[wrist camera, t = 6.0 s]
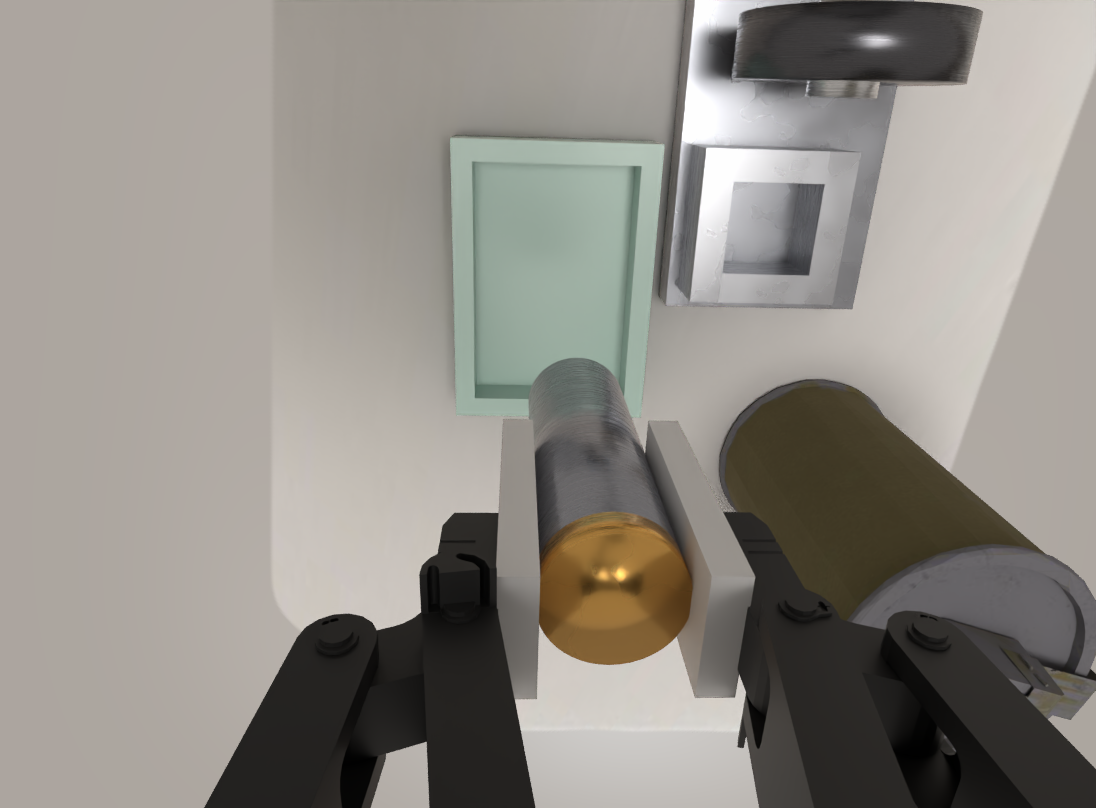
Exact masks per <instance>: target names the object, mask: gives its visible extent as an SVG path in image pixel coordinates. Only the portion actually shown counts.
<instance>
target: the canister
mask: <svg viewBox="0 0 1096 808" xmlns="http://www.w3.org/2000/svg"><path fill="white" fill-rule="evenodd" d="M720 482H721V485H722V488H723V491H724V494H725V496H726V498H727V500H728V501H729V503H730V505H731V506H732V507H733V508H734V509H735V510H736V511H737V512H751V513H752V514H754V515H755V516H756V517H757V518H759V519H760V520H761V521H763V522H764V523H765V524H767V525H768V527H769V529H770V530H771V532H772V534H773V535H774V537H775V539H776V542H778V544H779V545H780V547H781V549H782V551H783V554H785V556H786V557H787V559H788V561H789V562H790V564H791V566H792V568H793V569H794V571H795V573H796V574H797V576H798V578H799V579H800V581H801V583H802V584H803V586H804V588H805V589H807V590H809V591H812V592H814V593H816V594H819V595H821V596H822V597H823V598H825V599H826V600H827V601H829V602H830V603H831V604H832V605H833V606H834V608H835V609H836V611H837V612H838V614H839V617H840V619H842V620H845V621H849V622H852V623H856V624H861V625H865V626H870V627H875V628H879V629H884V630H885V628H886V624H887V620H888V619H889V618H890V617H891V616H892V615H893V614H894V613H897V612H901V611H906V610H907V611H921V612H925V613H928V614H932V615H935V616H938V617H940V618H942V619H944V620H946V621H948V622H950V623H952V624H953V625H954V626H956V627H957V628H958V629H959V630H961V631H962V632H963V633H964V634H965V635H966V636H967V637H968V638H969V639H970V640H971V641H972V642H973V643H974V644H975V645H976V646H977V647H978V648H979V649H980V650H981V651H982V652H983V653H984V654H985V655H986V656H987V657H988V659H989V660H990V661H991V662H992V663H993V664H994V665H995V666H996V667H997V668H998V669H999V670H1000V671H1001V672H1002V673H1003V674H1004V675H1005V676H1006V677H1007V678H1008V679H1009V680H1010V681H1011V682H1012V683H1013V684H1014V685H1015V686H1016V687H1017V688H1018V689H1019V690H1020V692H1021V693H1022V694H1023V695H1024V696H1025V697H1026V698H1027V699H1028V700H1029V701H1030V702H1031V703H1032V704H1033V705H1034V706H1035V707H1036V708H1037V709H1038V710H1039V711H1040V712H1041V713H1042V714H1043V715H1044V716H1045V717H1046V718H1047V719H1048V718H1050V717H1051V716H1052V715H1054V716H1058V717H1061V718H1065V719H1069V720H1071V719H1072V717H1073V716H1074V715H1075V714H1076V713H1077V712H1078V711H1079V709H1080V708H1081V707H1082V706H1083V705H1084V704H1085V702H1086V701H1087V700H1088V699H1089V698H1090V696H1091V695H1092V694H1093V693H1094V692H1095V691H1096V674H1095V673H1094V672H1093V671H1092V670H1091V669H1090V668H1091V665H1092V663H1093V661H1094V658H1095V656H1096V600H1095V599H1094V597H1093V595H1092V594H1091V592H1090V590H1089V588H1088V587H1087V585H1086V583H1085V581H1084V580H1082V579H1081V578H1080V577H1079V576H1078V575H1077V574H1076V573H1075V572H1074V571H1073V570H1072V569H1071V568H1070V567H1068V566H1067V565H1065V564H1064V563H1062V562H1061V561H1059V560H1057V559H1056V558H1054V557H1053V556H1050V555H1047V554H1045V553H1044V552H1043V551H1041V550H1040V549H1039V548H1038V547H1037V546H1036V545H1034V544H1033V543H1032V542H1031V541H1030V540H1028V539H1027V538H1026V537H1025V536H1024V535H1023V534H1021V533H1020V532H1019V531H1018V530H1017V529H1016V528H1014V527H1013V526H1012V525H1011V524H1010V523H1008V522H1007V521H1006V520H1005V519H1004V518H1003V517H1001V516H1000V515H999V514H998V513H997V512H995V511H994V510H993V509H992V508H991V507H990V506H988V505H987V504H986V503H985V502H984V501H983V500H981V499H980V498H979V497H978V496H977V495H975V494H974V493H973V492H972V491H971V490H970V489H968V488H967V487H966V486H965V485H964V484H963V483H961V482H960V481H959V480H957V478H956V477H954V476H953V475H952V474H951V473H950V472H948V471H947V470H946V469H945V468H944V467H943V466H941V465H940V464H939V463H938V462H937V461H936V460H934V459H933V458H932V457H931V456H930V455H928V454H927V453H926V452H925V451H924V450H923V449H921V448H920V447H919V446H918V445H917V444H916V443H914V442H913V441H912V440H911V439H910V438H909V437H907V436H906V435H905V434H904V433H903V432H901V431H900V430H899V429H898V428H897V427H896V426H894V425H893V424H892V423H891V422H890V421H889V420H887V419H886V418H885V417H884V415H883V414H882V412H881V411H880V409H879V408H878V406H877V405H876V404H875V403H874V402H873V401H872V400H871V399H870V398H869V397H868V396H866V395H865V394H864V393H862V392H861V391H859V390H858V389H855V388H853V387H851V386H847V385H844V384H840V383H836V382H832V381H827V380H805V381H801V382H797V383H794V384H790V385H786V386H783V387H779V388H776V389H775V390H773V391H771V392H770V393H768V394H767V395H765V396H763V397H762V398H760V399H759V400H757V401H756V402H755V403H753V404H752V405H751V406H750V407H749V408H748V409H746V410H745V411H744V412H743V413H742V414H741V415H740V416H739V418H738V419H737V421H736V422H735V424H734V425H733V427H732V429H731V430H730V432H729V434H728V437H727V439H726V442H725V444H724V447H723V449H722V452H721V454H720ZM944 739H945V740H946V742H947V743H948V744H949V745H950V747H951V748H952V749H953V750H954V751H955V752H956V750H955V749H954V747H953V745H952V744H951V742H950V741H949V740H948V739H947V737H946V736H945V735H944Z"/></svg>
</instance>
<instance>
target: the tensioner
mask: <svg viewBox="0 0 1096 808" xmlns="http://www.w3.org/2000/svg"><path fill="white" fill-rule="evenodd" d="M982 15H983V12H982V11H981V10H979V9H976V8H972V7H968V6H961V5H954V4H945V3H932V2H914V0H686V7H685V18H684V29H683V40H682V51H681V62H680V73H679V84H678V94H677V105H676V116H675V127H674V138H673V149H672V160H671V171H670V182H669V192H668V203H667V214H666V225H665V236H664V247H663V258H662V269H661V280H660V290H659V297H660V298H661V300H662V301H663V302H664V304H665V305H666V306H711V307H762V308H814V309H852V308H853V303H854V298H855V293H856V288H857V283H858V278H859V273H860V268H861V263H862V258H863V253H864V248H865V243H866V238H867V233H868V228H869V223H870V218H871V213H872V208H873V203H874V198H875V193H876V188H877V183H878V178H879V173H880V168H881V163H882V158H883V153H884V148H885V143H886V138H887V133H888V128H889V123H890V118H891V113H892V108H893V103H894V98H895V93H896V88H897V86H943V85H963V84H967V79H968V75H969V71H970V66H971V62H972V58H973V54H974V49H975V45H976V41H977V37H978V32H979V28H980V24H981V20H982Z"/></svg>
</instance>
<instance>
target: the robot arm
mask: <svg viewBox="0 0 1096 808" xmlns="http://www.w3.org/2000/svg"><path fill="white" fill-rule="evenodd" d="M645 456H646V458H647V461H648V464H649V467H650V469H651V472H652V475H653V477H654V480H655V483H656V486H657V488H658V491H659V494H660V497H661V499H662V502H663V505H664V507H665V510H666V513H667V516H668V518H669V521H670V524H671V526H672V529H673V532H674V535H675V537H676V540H677V543H678V545H679V548H680V551H681V554H682V556H683V559H684V562H685V565H686V567H687V570H688V573H689V575H690V578H691V582H692V586H693V590H692V598H691V606H690V614H689V618H688V620H687V622H686V624H685V626H684V627H683V629H682V630H681V631H680V633H679V634H678V635H677V639H678V642H679V646H680V649H681V652H682V656H683V659H684V662H685V666H686V669H687V673H688V676H689V679H690V683H691V686H692V689H693V693H694V696H695V698H727V697H735V694H736V689H737V683H738V677H739V675H740V677H741V680H742V682H743V685H744V688H745V690H746V697H745V702H744V708H743V714H742V720H741V725H740V731H739V737H738V747H740V748H744V743H745V738H746V737H747V741H748V747H749V752H750V758H751V764H752V769H753V775H754V781H755V787H756V792H757V798H758V804H759V808H1096V769H1095V768H1094V767H1093V766H1092V765H1091V764H1090V763H1089V762H1088V761H1087V760H1086V759H1085V758H1084V757H1083V755H1082V754H1080V752H1079V751H1078V750H1077V749H1076V748H1075V747H1074V746H1073V745H1072V744H1071V743H1070V742H1069V741H1068V740H1067V739H1066V738H1065V737H1064V736H1063V735H1062V734H1061V733H1060V732H1059V731H1058V730H1057V729H1056V728H1055V727H1054V726H1053V725H1052V724H1051V722H1050V721H1048V719H1047V718H1046V717H1045V716H1044V715H1043V714H1042V713H1041V712H1040V711H1039V710H1038V709H1037V708H1036V707H1035V706H1034V705H1033V704H1032V703H1031V702H1030V701H1029V700H1028V699H1027V698H1026V697H1025V696H1024V695H1023V694H1022V693H1021V692H1020V690H1019V689H1018V688H1017V687H1016V686H1015V685H1014V684H1013V683H1012V682H1011V681H1010V680H1009V679H1008V678H1007V677H1006V676H1005V675H1004V674H1003V673H1002V672H1001V671H1000V670H999V669H998V668H997V667H996V666H995V665H994V664H993V663H992V662H991V661H990V660H989V659H988V657H987V656H986V655H985V654H984V653H983V652H982V651H981V650H980V649H979V648H978V647H977V646H976V645H975V644H974V643H973V642H972V641H971V640H970V639H969V638H968V637H967V636H966V635H965V634H964V633H963V632H962V631H961V630H959V629H958V628H957V627H956V626H954V625H953V624H952V623H950V622H948V621H946V620H944V619H942V618H940V617H938V616H935V615H932V614H928V613H925V612H921V611H907V610H906V611H901V612H897V613H894V614H893V615H892V616H891V617H890V618H889V619H888V620H887V624H886V628H885V630H884V629H879V628H875V627H870V626H865V625H861V624H856V623H852V622H849V621H845V620H842V619H840V617H839V614H838V612H837V611H836V609H835V608H834V606H833V605H832V604H831V603H830V602H829V601H827V600H826V599H825V598H823V597H822V596H821V595H819V594H816V593H814V592H812V591H809V590H807V589H805V588H804V586H803V584H802V583H801V581H800V579H799V578H798V576H797V574H796V573H795V571H794V569H793V568H792V566H791V564H790V562H789V561H788V559H787V557H786V556H785V554H783V551H782V549H781V547H780V545H779V544H778V542H776V539H775V537H774V535H773V534H772V532H771V530H770V529H769V527H768V525H767V524H765V523H764V522H763V521H761V520H760V519H759V518H757V517H756V516H755V515H754V514H752V513H751V512H723V511H722V509H721V507H720V505H719V503H718V501H717V499H716V497H715V495H714V493H713V491H712V489H711V487H710V485H709V483H708V481H707V479H706V477H705V475H704V473H703V471H702V469H701V467H700V465H699V463H698V461H697V459H696V457H695V455H694V453H693V451H692V449H691V447H690V445H689V443H688V441H687V439H686V437H685V435H684V433H683V431H682V429H681V427H680V425H679V423H678V421H648V430H647V441H646V452H645ZM419 576H420V596H421V613H420V614H418V615H417V616H416V617H415V618H413V619H411V620H409V621H407V622H405V623H403V624H400V625H397V626H394V627H390V628H385V629H381V630H376V628H375V627H374V625H373V623H372V622H371V621H369V620H367V619H366V618H364V617H363V616H358V615H353V614H337V615H331V616H328V617H325V618H322V619H318V620H317V621H315V622H314V623H312V624H310V625H309V626H307V627H306V628H305V629H304V630H303V631H302V632H301V634H300V635H299V636H298V637H297V639H296V641H295V643H294V644H293V646H292V648H291V650H290V652H289V653H288V655H287V657H286V659H285V661H284V663H283V664H282V666H281V668H280V670H279V672H278V674H277V675H276V677H275V679H274V681H273V683H272V685H271V686H270V688H269V690H268V692H267V694H266V696H265V697H264V699H263V701H262V703H261V705H260V707H259V708H258V710H257V712H256V714H255V716H254V718H253V719H252V721H251V723H250V725H249V727H248V728H247V730H246V732H245V734H244V736H243V738H242V740H241V742H240V743H239V745H238V747H237V749H236V750H235V752H234V754H233V756H232V758H231V760H230V761H229V763H228V765H227V767H226V769H225V771H224V772H223V774H222V776H221V778H220V780H219V782H218V784H217V785H216V787H215V789H214V791H213V793H212V794H211V796H210V798H209V800H208V802H207V804H206V805H205V807H204V808H371V804H372V801H373V798H374V795H375V791H376V788H377V785H378V782H379V779H380V775H381V772H382V769H383V766H384V762H385V759H386V753H390V752H393V751H396V750H400V749H403V748H406V747H410V746H413V745H416V744H420V743H424V742H427V758H428V782H429V806H430V808H535V803H534V798H533V793H532V787H531V782H530V777H529V772H528V766H527V761H526V756H525V751H524V746H523V740H522V735H521V730H520V725H519V720H518V714H517V709H516V704H515V699H537V672H538V638H539V603H540V560H539V539H538V518H537V496H536V475H535V453H534V432H533V420H517V419H503V432H502V453H501V474H500V495H499V513H454V514H453V515H452V516H451V517H450V518H449V519H448V520H447V522H446V523H445V524H444V525H443V527H442V532H441V538H440V543H439V549H438V554H437V555H435V556H433V557H431V558H429V559H428V560H427V561H426V562H425V563H424V564H423V565H422V568H421V571H420V575H419ZM944 735H945V736H946V737H947V739H948V740H949V741H950V742H951V744H952V745H953V747H954V749H955V750H956V752H955V751H954V750H953V749H952V748H951V747H950V745H949V744H948V743H947V742H946V740H945V739H944Z"/></svg>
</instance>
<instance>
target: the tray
mask: <svg viewBox="0 0 1096 808" xmlns="http://www.w3.org/2000/svg"><path fill="white" fill-rule="evenodd" d="M664 147H665V144H662V143H658V142H655V141H634V140H600V139H567V138H534V137H500V136H467V135H455V136H453V137H451V138H450V157H451V202H452V248H453V294H454V339H455V385H456V415H472V416H529V408H528V399H529V393H530V389H531V387H532V385H533V383H534V381H535V379H536V378H537V377H538V375H539V374H540V373H541V372H542V371H543V370H544V369H546V368H547V367H548V366H550V365H551V364H553V363H555V362H557V361H560V360H563V359H568V358H586V359H590V360H593V361H596V362H598V363H600V364H602V365H603V366H605V367H606V368H607V369H608V370H610V371H611V372H612V374H613V375H614V376H615V378H616V379H617V381H618V383H619V385H620V388H621V390H622V393H623V396H624V399H625V401H626V404H627V407H628V409H629V412H630V415H631V417H638V418H641V409H642V398H643V386H644V375H645V364H646V352H647V341H648V329H649V318H650V307H651V295H652V284H653V272H654V261H655V250H656V238H657V227H658V215H659V204H660V193H661V181H662V170H663V158H664Z"/></svg>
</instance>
